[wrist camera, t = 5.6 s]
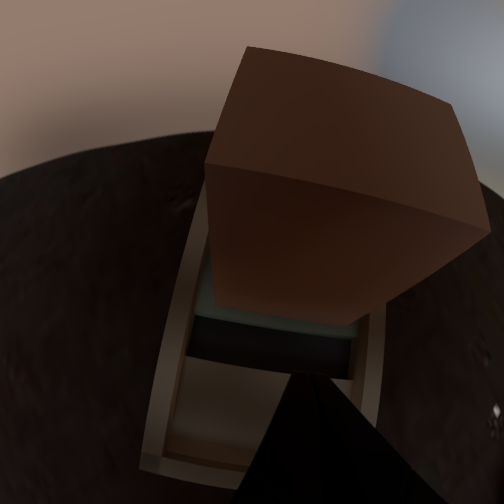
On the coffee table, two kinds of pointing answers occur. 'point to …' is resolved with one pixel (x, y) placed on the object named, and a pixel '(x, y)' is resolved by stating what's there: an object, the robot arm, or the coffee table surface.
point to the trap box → (240, 372)
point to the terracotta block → (333, 190)
